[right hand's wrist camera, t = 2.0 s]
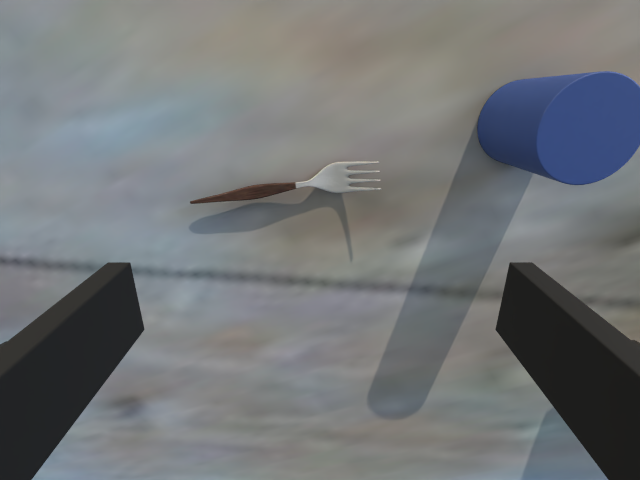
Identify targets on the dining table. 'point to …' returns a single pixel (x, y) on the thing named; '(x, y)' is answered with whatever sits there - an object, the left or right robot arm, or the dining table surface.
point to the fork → (301, 184)
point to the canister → (564, 125)
